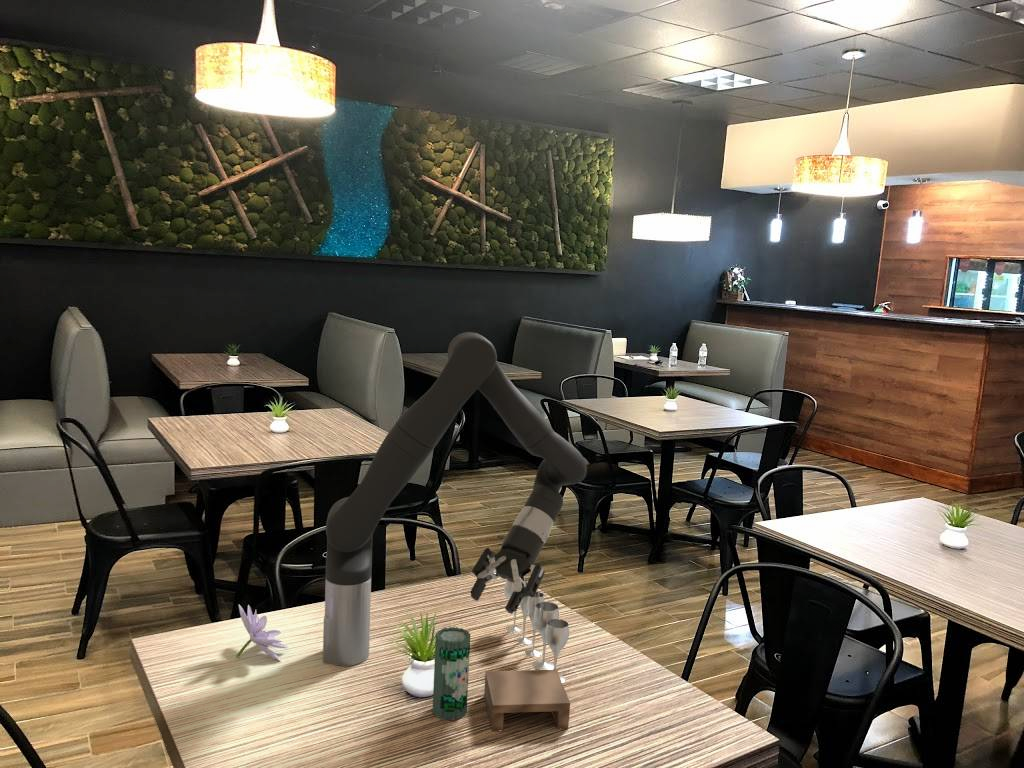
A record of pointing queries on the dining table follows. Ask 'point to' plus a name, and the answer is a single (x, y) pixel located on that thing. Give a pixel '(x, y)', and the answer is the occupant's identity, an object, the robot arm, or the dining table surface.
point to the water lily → (259, 633)
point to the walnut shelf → (525, 695)
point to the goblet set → (540, 626)
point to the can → (451, 673)
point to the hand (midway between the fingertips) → (490, 605)
